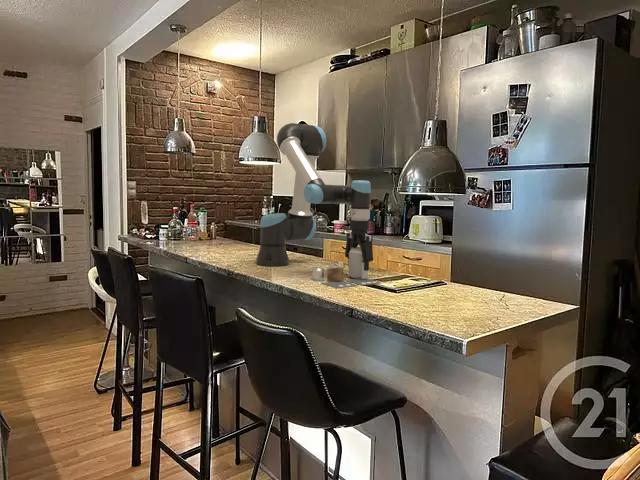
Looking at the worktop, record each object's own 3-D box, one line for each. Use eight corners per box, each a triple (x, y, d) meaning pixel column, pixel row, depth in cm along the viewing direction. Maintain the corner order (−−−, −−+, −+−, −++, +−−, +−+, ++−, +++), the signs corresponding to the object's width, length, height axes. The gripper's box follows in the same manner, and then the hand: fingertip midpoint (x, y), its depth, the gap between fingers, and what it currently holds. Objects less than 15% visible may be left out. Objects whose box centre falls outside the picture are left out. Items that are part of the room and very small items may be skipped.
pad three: (345, 281, 182) (345, 279, 181) (365, 279, 187) (365, 277, 187) (361, 286, 173) (361, 284, 173) (382, 284, 179) (382, 282, 179)
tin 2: (327, 279, 187) (327, 266, 186) (336, 278, 189) (336, 265, 189) (333, 280, 183) (334, 268, 183) (342, 280, 186) (343, 267, 185)
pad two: (320, 284, 175) (320, 282, 175) (342, 282, 181) (342, 280, 181) (336, 289, 167) (336, 287, 167) (358, 287, 173) (358, 284, 172)
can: (367, 276, 192) (368, 247, 191) (367, 279, 185) (368, 249, 183) (348, 275, 193) (349, 246, 191) (348, 278, 185) (349, 248, 184)
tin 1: (310, 280, 182) (310, 267, 182) (319, 279, 185) (320, 267, 184) (316, 282, 179) (316, 269, 178) (326, 281, 181) (326, 268, 181)
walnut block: (327, 281, 179) (326, 268, 179) (331, 280, 184) (330, 267, 184) (340, 281, 177) (339, 268, 177) (343, 280, 182) (343, 267, 182)
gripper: (337, 218, 193) (335, 273, 195) (369, 221, 176) (367, 282, 178) (351, 218, 197) (349, 272, 199) (384, 221, 180) (382, 280, 182)
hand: (357, 276), depth 189 cm, fingers closed on can, 7 cm apart
